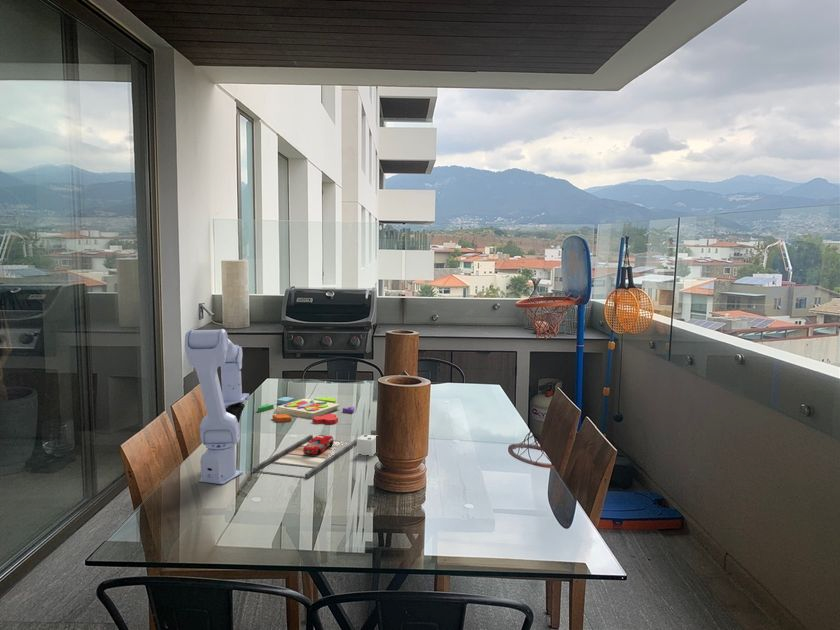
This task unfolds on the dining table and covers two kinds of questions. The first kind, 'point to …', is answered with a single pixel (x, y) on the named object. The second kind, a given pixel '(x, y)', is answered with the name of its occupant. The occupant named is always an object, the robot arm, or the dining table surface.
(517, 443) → the dining table surface
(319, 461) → the board
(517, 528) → the dining table surface
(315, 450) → the race car
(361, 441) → the die
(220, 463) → the robot arm
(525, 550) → the dining table surface
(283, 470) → the dining table surface
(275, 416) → the pattern blocks set
